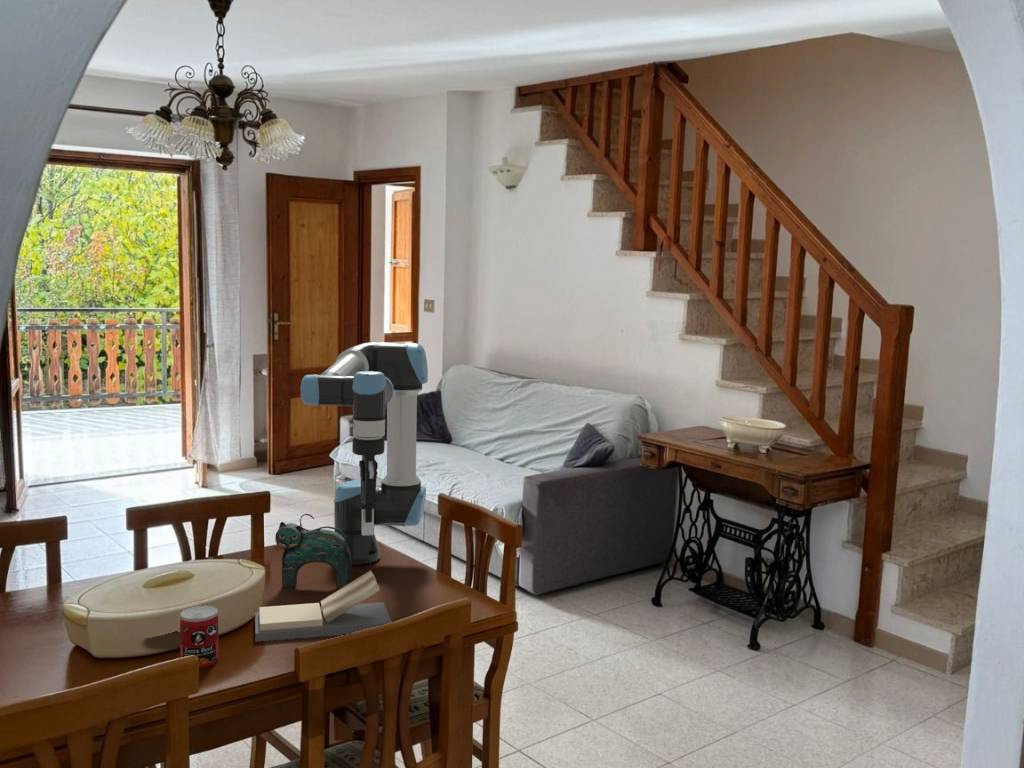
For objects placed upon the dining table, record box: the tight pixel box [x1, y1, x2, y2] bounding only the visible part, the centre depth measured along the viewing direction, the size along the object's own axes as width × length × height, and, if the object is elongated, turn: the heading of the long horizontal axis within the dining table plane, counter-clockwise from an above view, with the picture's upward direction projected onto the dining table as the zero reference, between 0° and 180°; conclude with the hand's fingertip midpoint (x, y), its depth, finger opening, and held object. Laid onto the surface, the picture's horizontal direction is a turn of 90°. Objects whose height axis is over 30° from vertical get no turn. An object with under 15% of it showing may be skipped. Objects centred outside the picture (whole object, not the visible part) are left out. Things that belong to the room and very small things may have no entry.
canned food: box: [179, 605, 219, 669], centre depth 190 cm, size 8×8×11 cm
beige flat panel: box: [320, 570, 381, 623], centre depth 213 cm, size 11×14×2 cm
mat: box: [254, 601, 393, 643], centre depth 212 cm, size 14×31×4 cm, turn 106°
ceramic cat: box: [274, 513, 353, 589], centre depth 239 cm, size 20×6×20 cm, turn 92°
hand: (367, 534), depth 212 cm, fingers closed
